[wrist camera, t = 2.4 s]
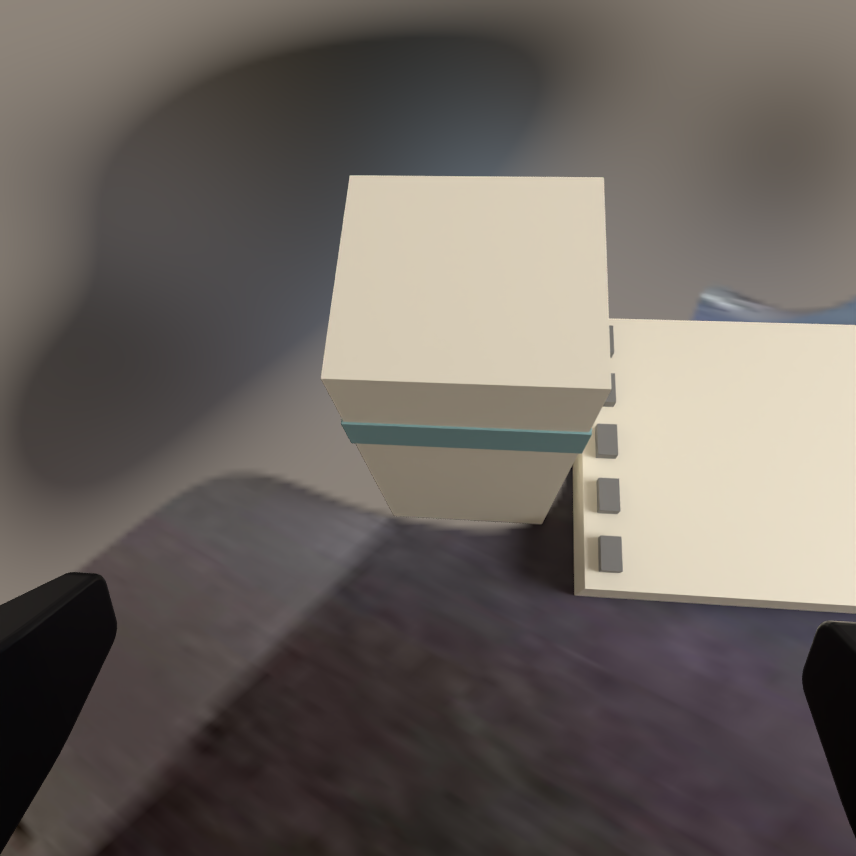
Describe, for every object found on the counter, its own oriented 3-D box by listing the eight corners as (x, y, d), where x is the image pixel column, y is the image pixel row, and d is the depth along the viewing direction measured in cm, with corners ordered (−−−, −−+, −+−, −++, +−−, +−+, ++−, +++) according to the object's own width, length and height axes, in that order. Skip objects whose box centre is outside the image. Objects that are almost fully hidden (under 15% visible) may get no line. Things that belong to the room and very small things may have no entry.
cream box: (543, 526, 21) (614, 391, 10) (392, 517, 21) (317, 381, 11) (544, 399, 22) (606, 175, 12) (403, 394, 23) (347, 173, 12)
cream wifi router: (1119, 631, 18) (1209, 626, 16) (574, 595, 20) (587, 587, 18) (1036, 360, 22) (1102, 324, 19) (571, 345, 23) (582, 311, 21)
